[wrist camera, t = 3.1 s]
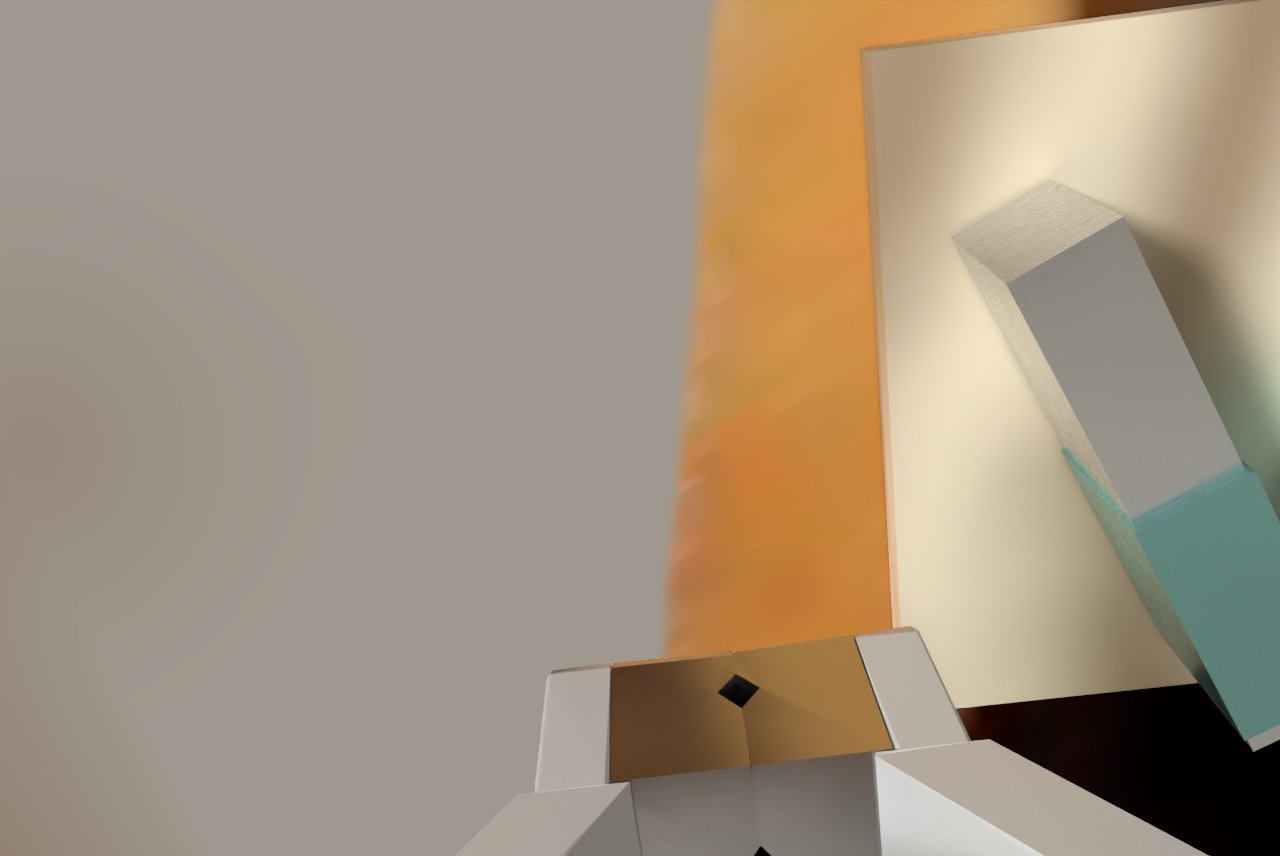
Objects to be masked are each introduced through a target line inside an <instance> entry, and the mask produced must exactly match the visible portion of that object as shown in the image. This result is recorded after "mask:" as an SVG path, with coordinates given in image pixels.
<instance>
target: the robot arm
mask: <svg viewBox="0 0 1280 856" xmlns="http://www.w3.org/2000/svg"><path fill="white" fill-rule="evenodd" d="M454 856H1208V855H1207V854H1205V853H1203V852H1201V851H1199V850H1197V849H1195V848H1193V847H1191V846H1190V845H1188V844H1186V843H1184V842H1182V841H1180V840H1178V839H1176V838H1174V837H1173V836H1171V835H1169V834H1167V833H1165V832H1163V831H1161V830H1159V829H1158V828H1156V827H1154V826H1152V825H1150V824H1148V823H1146V822H1144V821H1142V820H1141V819H1139V818H1137V817H1135V816H1133V815H1131V814H1129V813H1127V812H1125V811H1124V810H1122V809H1120V808H1118V807H1116V806H1114V805H1112V804H1110V803H1109V802H1107V801H1105V800H1103V799H1101V798H1099V797H1097V796H1095V795H1093V794H1092V793H1090V792H1088V791H1086V790H1084V789H1082V788H1080V787H1078V786H1076V785H1075V784H1073V783H1071V782H1069V781H1067V780H1065V779H1063V778H1061V777H1060V776H1058V775H1056V774H1054V773H1052V772H1050V771H1048V770H1046V769H1044V768H1043V767H1041V766H1039V765H1037V764H1035V763H1033V762H1031V761H1029V760H1027V759H1026V758H1024V757H1022V756H1020V755H1018V754H1016V753H1014V752H1012V751H1011V750H1009V749H1007V748H1005V747H1003V746H1001V745H999V744H997V743H995V742H994V741H992V740H989V739H988V740H979V741H971V740H970V738H969V736H968V734H967V731H966V729H965V727H964V725H963V723H962V721H961V719H960V717H959V715H958V713H957V710H956V708H955V706H954V704H953V702H952V700H951V698H950V696H949V694H948V691H947V689H946V687H945V685H944V683H943V681H942V679H941V677H940V675H939V673H938V670H937V668H936V666H935V664H934V662H933V660H932V658H931V656H930V654H929V651H928V649H927V647H926V645H925V643H924V641H923V639H922V637H921V635H920V633H919V630H917V629H916V628H914V627H912V626H906V627H899V628H893V629H887V630H881V631H875V632H869V633H862V634H856V635H849V636H843V637H836V638H829V639H822V640H815V641H808V642H802V643H795V644H788V645H781V646H774V647H767V648H761V649H754V650H747V651H740V652H733V653H732V651H728V652H718V653H708V654H698V655H688V656H679V657H669V658H659V659H649V660H639V661H629V662H619V663H613V666H611V665H610V664H609V663H603V664H597V665H589V666H581V667H575V668H567V669H559V670H553V671H552V672H551V673H550V675H549V676H548V678H547V682H546V691H545V701H544V711H543V719H542V728H541V738H540V747H539V755H538V765H537V774H536V784H535V793H529V794H522V795H517V796H515V797H514V798H513V799H512V800H511V801H510V802H509V803H508V804H507V805H506V806H505V807H504V808H503V809H502V810H501V811H500V812H499V813H498V814H497V815H496V816H495V817H493V818H492V819H491V820H490V821H489V822H488V823H487V824H486V825H485V826H484V827H483V828H482V829H481V830H480V831H479V832H478V833H477V834H476V835H475V836H474V837H473V838H472V839H471V840H470V841H468V843H467V844H465V845H464V846H463V847H462V848H461V849H460V850H459V851H458V852H457V853H456V854H455V855H454Z"/></svg>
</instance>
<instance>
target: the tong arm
mask: <svg viewBox="0 0 1280 856" xmlns="http://www.w3.org/2000/svg"><path fill="white" fill-rule="evenodd" d="M951 239H952V241H953V243H954V245H955V246H956V248H957V250H958V252H959V254H960V256H961V258H962V259H963V261H964V263H965V265H966V267H967V269H968V271H969V272H970V274H971V276H972V278H973V280H974V282H975V284H976V285H977V287H978V289H979V291H980V293H981V295H982V297H983V298H984V300H985V302H986V304H987V306H988V308H989V310H990V311H991V313H992V315H993V317H994V319H995V321H996V323H997V324H998V326H999V328H1000V330H1001V332H1002V334H1003V336H1004V337H1005V339H1006V341H1007V343H1008V345H1009V347H1010V349H1011V350H1012V352H1013V354H1014V356H1015V358H1016V360H1017V361H1018V363H1019V365H1020V367H1021V369H1022V371H1023V373H1024V374H1025V376H1026V378H1027V380H1028V382H1029V384H1030V386H1031V387H1032V389H1033V391H1034V393H1035V395H1036V397H1037V399H1038V400H1039V402H1040V404H1041V406H1042V408H1043V410H1044V412H1045V413H1046V415H1047V417H1048V419H1049V421H1050V423H1051V425H1052V426H1053V428H1054V430H1055V432H1056V434H1057V436H1058V438H1059V439H1060V441H1061V443H1062V445H1063V447H1064V449H1062V450H1061V452H1062V454H1063V456H1064V458H1065V459H1066V461H1067V463H1068V465H1069V467H1070V469H1071V471H1072V472H1073V474H1074V476H1075V478H1076V480H1077V482H1078V483H1079V485H1080V487H1081V489H1082V491H1083V493H1084V495H1085V496H1086V498H1087V500H1088V502H1089V504H1090V506H1091V508H1092V509H1093V511H1094V513H1095V515H1096V517H1097V519H1098V521H1099V522H1100V524H1101V526H1102V528H1103V530H1104V532H1105V533H1106V535H1107V537H1108V539H1109V541H1110V543H1111V545H1112V546H1113V548H1114V550H1115V552H1116V554H1117V556H1118V558H1119V559H1120V561H1121V563H1122V565H1123V567H1124V569H1125V571H1126V572H1127V574H1128V576H1129V578H1130V580H1131V582H1132V583H1133V585H1134V587H1135V589H1136V591H1137V593H1138V595H1139V596H1140V598H1141V600H1142V602H1143V604H1144V606H1145V608H1146V609H1147V611H1148V613H1149V615H1150V617H1151V619H1152V621H1153V622H1154V624H1155V626H1156V628H1157V630H1158V632H1159V633H1160V635H1161V636H1162V638H1163V639H1164V640H1165V641H1166V643H1167V644H1168V645H1169V646H1170V648H1171V649H1172V650H1173V651H1174V653H1175V654H1176V655H1177V656H1178V658H1179V659H1180V660H1181V662H1182V663H1183V664H1184V665H1185V667H1186V668H1187V669H1188V670H1189V672H1190V673H1191V674H1192V675H1193V677H1194V678H1195V679H1196V680H1197V682H1198V683H1199V684H1200V686H1201V687H1202V688H1203V689H1204V691H1205V692H1206V693H1207V694H1208V696H1209V697H1210V698H1211V699H1212V701H1213V702H1214V703H1215V705H1216V706H1217V707H1218V708H1219V710H1220V711H1221V712H1222V713H1223V715H1224V716H1225V717H1226V718H1227V720H1228V721H1229V722H1230V723H1231V725H1232V726H1233V727H1234V729H1235V730H1236V731H1237V732H1238V734H1239V735H1240V736H1241V737H1242V739H1243V740H1244V741H1245V742H1246V743H1247V744H1248V745H1249V747H1250V748H1251V749H1252V750H1253V752H1254V751H1256V750H1258V749H1260V748H1262V747H1265V746H1267V745H1269V744H1271V743H1273V742H1275V741H1277V740H1279V739H1280V522H1279V520H1278V518H1277V516H1276V514H1275V511H1274V509H1273V507H1272V505H1271V503H1270V501H1269V499H1268V497H1267V495H1266V493H1265V491H1264V488H1263V486H1262V484H1261V482H1260V480H1259V478H1258V476H1257V474H1256V472H1255V470H1254V469H1252V468H1251V467H1250V466H1249V465H1247V464H1246V463H1245V462H1244V461H1242V460H1241V459H1240V458H1239V456H1238V454H1237V451H1236V449H1235V447H1234V445H1233V443H1232V441H1231V439H1230V437H1229V435H1228V433H1227V431H1226V429H1225V426H1224V424H1223V422H1222V420H1221V418H1220V416H1219V414H1218V412H1217V410H1216V408H1215V406H1214V404H1213V402H1212V399H1211V397H1210V395H1209V393H1208V391H1207V389H1206V387H1205V385H1204V383H1203V381H1202V379H1201V377H1200V375H1199V372H1198V370H1197V368H1196V366H1195V364H1194V362H1193V360H1192V358H1191V356H1190V354H1189V352H1188V350H1187V347H1186V345H1185V343H1184V341H1183V339H1182V337H1181V335H1180V333H1179V331H1178V329H1177V327H1176V325H1175V323H1174V320H1173V318H1172V316H1171V314H1170V312H1169V310H1168V308H1167V306H1166V304H1165V302H1164V300H1163V298H1162V296H1161V293H1160V291H1159V289H1158V287H1157V285H1156V283H1155V281H1154V279H1153V277H1152V275H1151V273H1150V271H1149V269H1148V266H1147V264H1146V262H1145V260H1144V258H1143V256H1142V254H1141V252H1140V250H1139V248H1138V246H1137V244H1136V241H1135V239H1134V237H1133V235H1132V233H1131V231H1130V229H1129V227H1128V225H1127V223H1126V221H1125V219H1124V217H1123V216H1122V215H1120V214H1118V213H1116V212H1114V211H1112V210H1109V209H1107V208H1105V207H1103V206H1101V205H1099V204H1097V203H1095V202H1093V201H1091V200H1089V199H1087V198H1085V197H1083V196H1081V195H1079V194H1077V193H1075V192H1073V191H1071V190H1069V189H1067V188H1065V187H1063V186H1061V185H1059V184H1057V183H1055V182H1053V181H1051V180H1047V181H1046V182H1044V183H1042V184H1041V185H1039V186H1037V187H1036V188H1034V189H1032V190H1031V191H1029V192H1027V193H1025V194H1024V195H1022V196H1020V197H1019V198H1017V199H1015V200H1014V201H1012V202H1010V203H1008V204H1007V205H1005V206H1003V207H1002V208H1000V209H998V210H997V211H995V212H993V213H992V214H990V215H988V216H986V217H985V218H983V219H981V220H980V221H978V222H976V223H975V224H973V225H971V226H969V227H968V228H966V229H964V230H963V231H961V232H959V233H958V234H956V235H954V236H953V237H951Z"/></svg>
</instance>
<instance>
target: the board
mask: <svg viewBox="0 0 1280 856" xmlns="http://www.w3.org/2000/svg"><path fill="white" fill-rule="evenodd" d="M861 64H862V82H863V100H864V118H865V136H866V154H867V172H868V190H869V208H870V226H871V244H872V262H873V280H874V298H875V316H876V334H877V352H878V370H879V388H880V406H881V424H882V442H883V460H884V478H885V496H886V514H887V532H888V550H889V568H890V586H891V604H892V622H893V628H899V627H906V626H912V627H914V628H916V629H917V630H919V633H920V635H921V637H922V639H923V641H924V643H925V645H926V647H927V649H928V651H929V654H930V656H931V658H932V660H933V662H934V664H935V666H936V668H937V670H938V673H939V675H940V677H941V679H942V681H943V683H944V685H945V687H946V689H947V691H948V694H949V696H950V698H951V700H952V702H953V704H954V706H955V708H966V707H975V706H985V705H994V704H1003V703H1013V702H1022V701H1032V700H1041V699H1051V698H1060V697H1069V696H1079V695H1088V694H1098V693H1107V692H1117V691H1126V690H1135V689H1145V688H1154V687H1164V686H1173V685H1182V684H1192V683H1198V682H1197V680H1196V679H1195V678H1194V677H1193V675H1192V674H1191V673H1190V672H1189V670H1188V669H1187V668H1186V667H1185V665H1184V664H1183V663H1182V662H1181V660H1180V659H1179V658H1178V656H1177V655H1176V654H1175V653H1174V651H1173V650H1172V649H1171V648H1170V646H1169V645H1168V644H1167V643H1166V641H1165V640H1164V639H1163V638H1162V636H1161V635H1160V633H1159V632H1158V630H1157V628H1156V626H1155V624H1154V622H1153V621H1152V619H1151V617H1150V615H1149V613H1148V611H1147V609H1146V608H1145V606H1144V604H1143V602H1142V600H1141V598H1140V596H1139V595H1138V593H1137V591H1136V589H1135V587H1134V585H1133V583H1132V582H1131V580H1130V578H1129V576H1128V574H1127V572H1126V571H1125V569H1124V567H1123V565H1122V563H1121V561H1120V559H1119V558H1118V556H1117V554H1116V552H1115V550H1114V548H1113V546H1112V545H1111V543H1110V541H1109V539H1108V537H1107V535H1106V533H1105V532H1104V530H1103V528H1102V526H1101V524H1100V522H1099V521H1098V519H1097V517H1096V515H1095V513H1094V511H1093V509H1092V508H1091V506H1090V504H1089V502H1088V500H1087V498H1086V496H1085V495H1084V493H1083V491H1082V489H1081V487H1080V485H1079V483H1078V482H1077V480H1076V478H1075V476H1074V474H1073V472H1072V471H1071V469H1070V467H1069V465H1068V463H1067V461H1066V459H1065V458H1064V456H1063V454H1062V452H1061V450H1062V449H1064V447H1063V445H1062V443H1061V441H1060V439H1059V438H1058V436H1057V434H1056V432H1055V430H1054V428H1053V426H1052V425H1051V423H1050V421H1049V419H1048V417H1047V415H1046V413H1045V412H1044V410H1043V408H1042V406H1041V404H1040V402H1039V400H1038V399H1037V397H1036V395H1035V393H1034V391H1033V389H1032V387H1031V386H1030V384H1029V382H1028V380H1027V378H1026V376H1025V374H1024V373H1023V371H1022V369H1021V367H1020V365H1019V363H1018V361H1017V360H1016V358H1015V356H1014V354H1013V352H1012V350H1011V349H1010V347H1009V345H1008V343H1007V341H1006V339H1005V337H1004V336H1003V334H1002V332H1001V330H1000V328H999V326H998V324H997V323H996V321H995V319H994V317H993V315H992V313H991V311H990V310H989V308H988V306H987V304H986V302H985V300H984V298H983V297H982V295H981V293H980V291H979V289H978V287H977V285H976V284H975V282H974V280H973V278H972V276H971V274H970V272H969V271H968V269H967V267H966V265H965V263H964V261H963V259H962V258H961V256H960V254H959V252H958V250H957V248H956V246H955V245H954V243H953V241H952V239H951V237H953V236H954V235H956V234H958V233H959V232H961V231H963V230H964V229H966V228H968V227H969V226H971V225H973V224H975V223H976V222H978V221H980V220H981V219H983V218H985V217H986V216H988V215H990V214H992V213H993V212H995V211H997V210H998V209H1000V208H1002V207H1003V206H1005V205H1007V204H1008V203H1010V202H1012V201H1014V200H1015V199H1017V198H1019V197H1020V196H1022V195H1024V194H1025V193H1027V192H1029V191H1031V190H1032V189H1034V188H1036V187H1037V186H1039V185H1041V184H1042V183H1044V182H1046V181H1047V180H1051V181H1053V182H1055V183H1057V184H1059V185H1061V186H1063V187H1065V188H1067V189H1069V190H1071V191H1073V192H1075V193H1077V194H1079V195H1081V196H1083V197H1085V198H1087V199H1089V200H1091V201H1093V202H1095V203H1097V204H1099V205H1101V206H1103V207H1105V208H1107V209H1109V210H1112V211H1114V212H1116V213H1118V214H1120V215H1122V216H1123V217H1124V219H1125V221H1126V223H1127V225H1128V227H1129V229H1130V231H1131V233H1132V235H1133V237H1134V239H1135V241H1136V244H1137V246H1138V248H1139V250H1140V252H1141V254H1142V256H1143V258H1144V260H1145V262H1146V264H1147V266H1148V269H1149V271H1150V273H1151V275H1152V277H1153V279H1154V281H1155V283H1156V285H1157V287H1158V289H1159V291H1160V293H1161V296H1162V298H1163V300H1164V302H1165V304H1166V306H1167V308H1168V310H1169V312H1170V314H1171V316H1172V318H1173V320H1174V323H1175V325H1176V327H1177V329H1178V331H1179V333H1180V335H1181V337H1182V339H1183V341H1184V343H1185V345H1186V347H1187V350H1188V352H1189V354H1190V356H1191V358H1192V360H1193V362H1194V364H1195V366H1196V368H1197V370H1198V372H1199V375H1200V377H1201V379H1202V381H1203V383H1204V385H1205V387H1206V389H1207V391H1208V393H1209V395H1210V397H1211V399H1212V402H1213V404H1214V406H1215V408H1216V410H1217V412H1218V414H1219V416H1220V418H1221V420H1222V422H1223V424H1224V426H1225V429H1226V431H1227V433H1228V435H1229V437H1230V439H1231V441H1232V443H1233V445H1234V447H1235V449H1236V451H1237V454H1238V456H1239V458H1240V459H1241V460H1242V461H1244V462H1245V463H1246V464H1247V465H1249V466H1250V467H1251V468H1252V469H1254V470H1255V472H1256V474H1257V476H1258V478H1259V480H1260V482H1261V484H1262V486H1263V488H1264V491H1265V493H1266V495H1267V497H1268V499H1269V501H1270V503H1271V505H1272V507H1273V509H1274V511H1275V514H1276V516H1277V518H1278V520H1279V522H1280V0H1225V1H1217V2H1210V3H1202V4H1194V5H1187V6H1179V7H1172V8H1164V9H1157V10H1149V11H1142V12H1134V13H1126V14H1119V15H1111V16H1104V17H1096V18H1089V19H1081V20H1074V21H1066V22H1058V23H1051V24H1043V25H1036V26H1028V27H1021V28H1013V29H1006V30H998V31H990V32H983V33H975V34H968V35H960V36H953V37H945V38H938V39H930V40H922V41H915V42H907V43H900V44H892V45H885V46H877V47H870V48H862V49H861Z"/></svg>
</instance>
